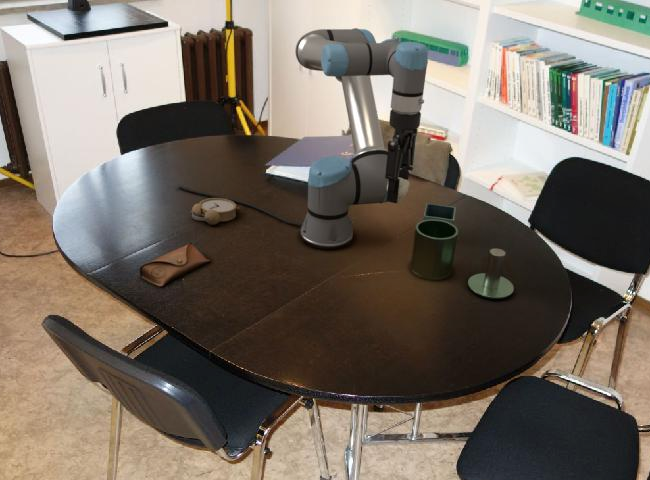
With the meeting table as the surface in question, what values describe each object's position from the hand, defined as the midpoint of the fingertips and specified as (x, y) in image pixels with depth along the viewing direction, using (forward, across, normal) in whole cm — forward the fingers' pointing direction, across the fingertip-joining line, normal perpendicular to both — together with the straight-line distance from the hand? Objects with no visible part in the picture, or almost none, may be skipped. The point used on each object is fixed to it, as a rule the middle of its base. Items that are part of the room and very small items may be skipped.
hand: (396, 197), depth 180 cm
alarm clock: (+20, -4, +57) cm, 60 cm away
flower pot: (+20, +21, -6) cm, 30 cm away
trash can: (+20, +3, -11) cm, 23 cm away
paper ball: (-3, 0, 0) cm, 3 cm away
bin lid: (+20, +2, -28) cm, 34 cm away
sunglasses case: (+20, -34, +47) cm, 61 cm away
